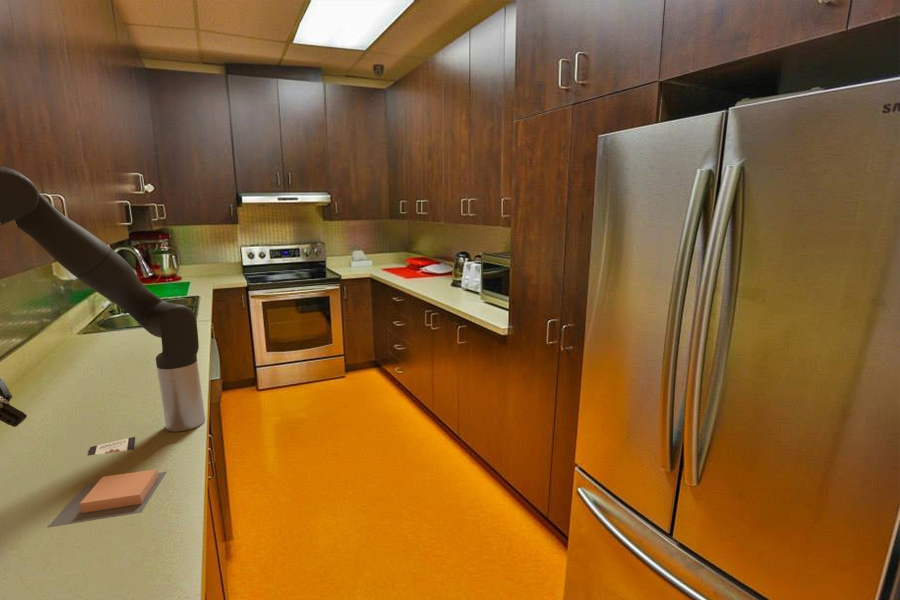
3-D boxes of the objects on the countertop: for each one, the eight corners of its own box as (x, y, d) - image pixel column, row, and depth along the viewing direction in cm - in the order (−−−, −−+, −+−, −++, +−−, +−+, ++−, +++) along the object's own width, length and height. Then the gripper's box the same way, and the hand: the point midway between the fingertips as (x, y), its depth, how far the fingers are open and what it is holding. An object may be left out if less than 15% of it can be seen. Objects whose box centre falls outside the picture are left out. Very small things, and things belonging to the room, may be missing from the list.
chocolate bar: (79, 483, 96) (90, 447, 110) (80, 487, 96) (91, 450, 111) (131, 469, 100) (134, 436, 115) (132, 473, 100) (135, 440, 115)
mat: (87, 486, 95) (87, 482, 95) (167, 474, 99) (167, 471, 99) (48, 530, 82) (47, 527, 82) (141, 515, 85) (141, 512, 85)
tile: (102, 476, 93) (157, 469, 96) (104, 486, 94) (158, 478, 96) (79, 503, 85) (140, 494, 87) (81, 513, 85) (141, 504, 87)
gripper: (-96, 363, 73) (12, 422, 79) (-34, 340, 86) (55, 393, 91) (-128, 398, 73) (-18, 454, 79) (-61, 370, 86) (30, 421, 91)
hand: (21, 421), depth 85 cm, fingers closed
